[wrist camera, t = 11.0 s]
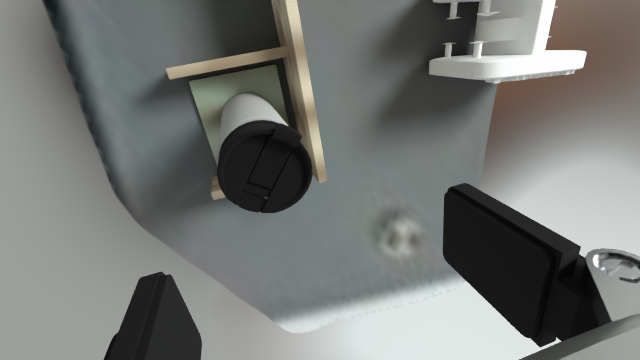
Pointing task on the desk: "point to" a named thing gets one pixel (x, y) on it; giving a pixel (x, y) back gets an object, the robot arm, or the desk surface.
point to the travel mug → (260, 156)
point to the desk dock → (260, 87)
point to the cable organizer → (508, 44)
